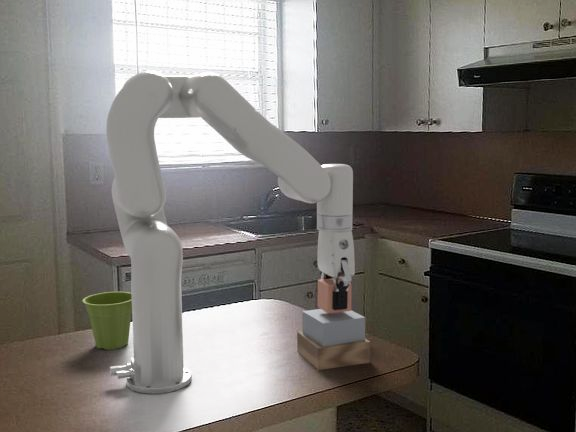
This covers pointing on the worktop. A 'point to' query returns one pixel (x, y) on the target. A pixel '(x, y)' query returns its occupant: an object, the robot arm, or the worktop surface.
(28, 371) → the worktop surface
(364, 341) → the lower block
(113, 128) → the robot arm
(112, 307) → the plant pot
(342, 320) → the upper block
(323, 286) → the pink cube
